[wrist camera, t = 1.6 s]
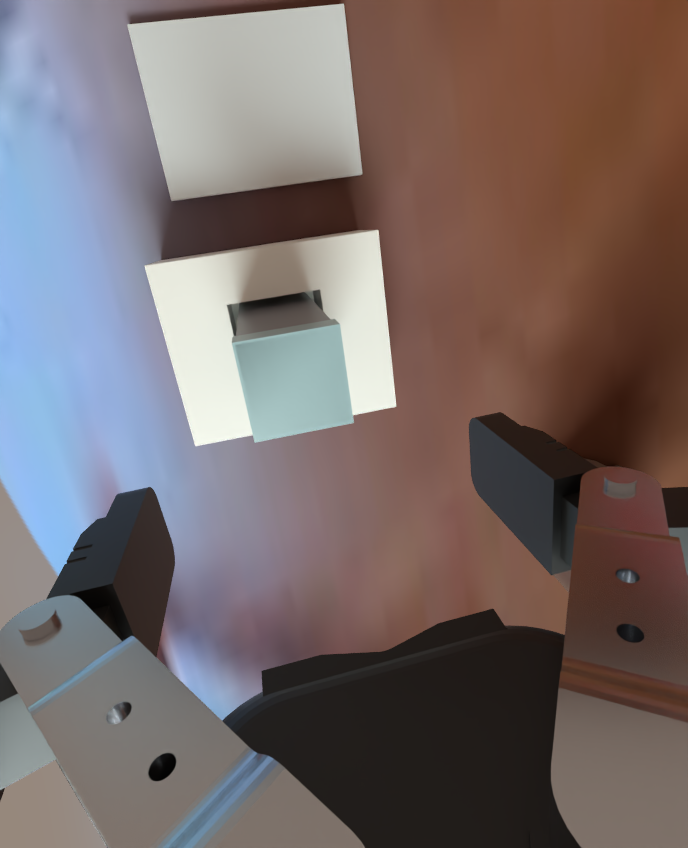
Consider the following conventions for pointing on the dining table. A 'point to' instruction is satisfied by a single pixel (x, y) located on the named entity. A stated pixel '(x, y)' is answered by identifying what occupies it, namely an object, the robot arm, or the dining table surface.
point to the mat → (250, 99)
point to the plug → (291, 367)
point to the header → (258, 279)
